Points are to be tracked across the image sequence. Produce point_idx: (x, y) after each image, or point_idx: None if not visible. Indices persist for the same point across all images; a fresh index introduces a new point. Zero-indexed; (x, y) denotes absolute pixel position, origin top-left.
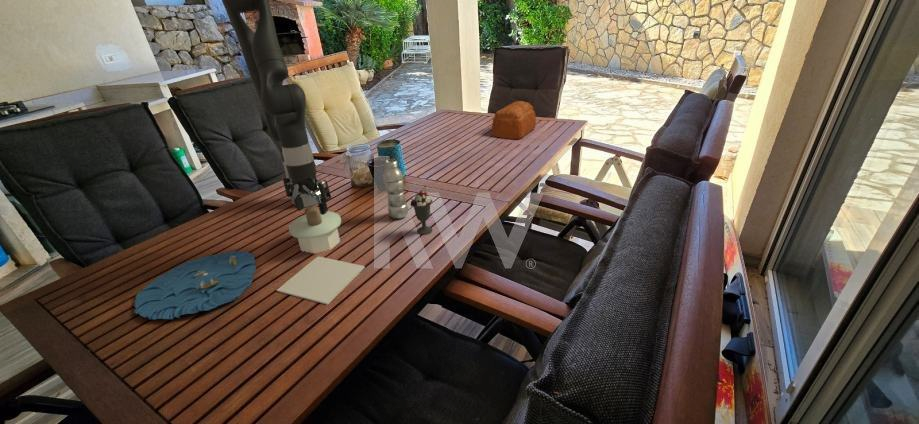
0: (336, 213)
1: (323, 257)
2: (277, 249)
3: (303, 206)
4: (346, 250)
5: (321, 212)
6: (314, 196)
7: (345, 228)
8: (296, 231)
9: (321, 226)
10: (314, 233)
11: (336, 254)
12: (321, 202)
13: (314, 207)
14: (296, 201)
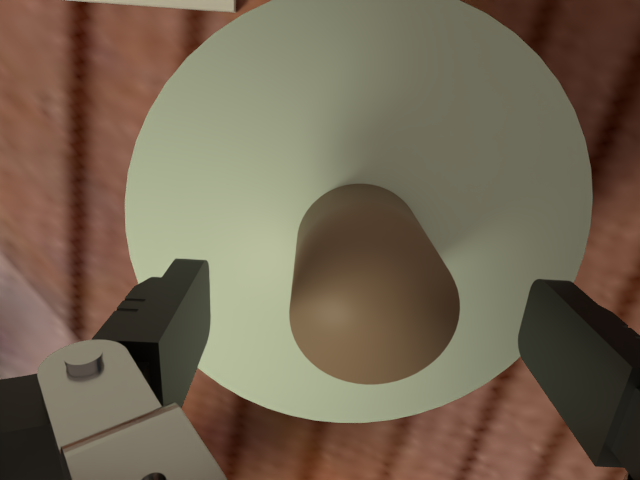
0: (273, 407)
1: (183, 7)
2: (604, 35)
3: (528, 356)
4: (111, 146)
5: (177, 268)
6: (92, 436)
7: None
8: (444, 53)
9: (252, 198)
10: (229, 63)
11: (141, 85)
12: (53, 359)
13: (371, 362)
14: (622, 352)
